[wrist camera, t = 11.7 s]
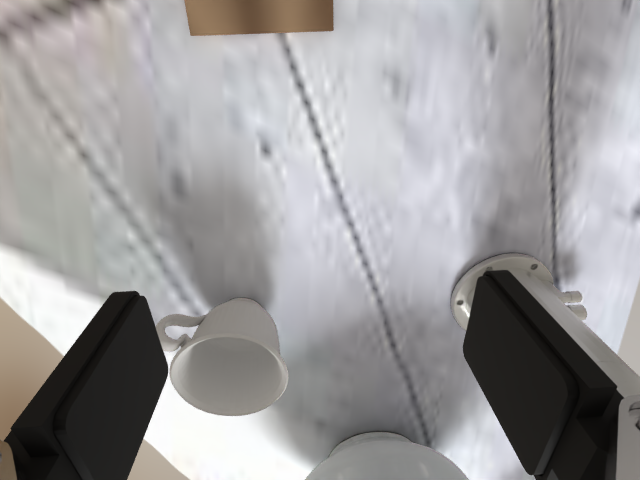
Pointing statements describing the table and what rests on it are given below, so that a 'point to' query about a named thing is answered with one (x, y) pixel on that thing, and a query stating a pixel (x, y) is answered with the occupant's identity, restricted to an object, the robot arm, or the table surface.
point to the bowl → (385, 460)
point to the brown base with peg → (258, 16)
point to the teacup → (227, 359)
